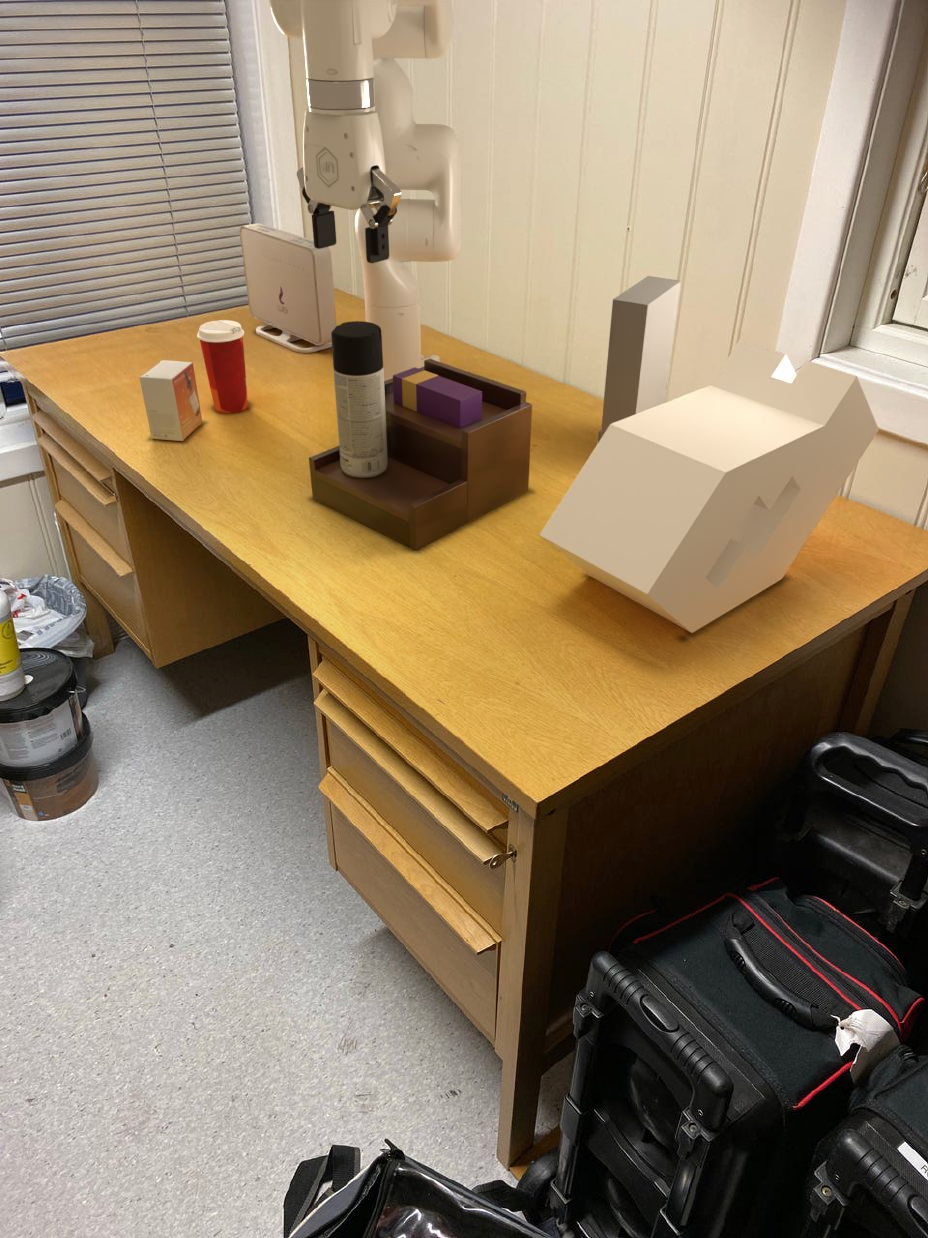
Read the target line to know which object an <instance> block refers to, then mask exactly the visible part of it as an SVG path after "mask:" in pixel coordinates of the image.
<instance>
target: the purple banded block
mask: <svg viewBox="0 0 928 1238" xmlns="http://www.w3.org/2000/svg"><path fill="white" fill-rule="evenodd" d="M393 396H394V402H395V403H397V404H400V405H402V406H404V407H406V408H409V409H411V410H414V411H416V412H420V413H422V414H425V415H428V416H430V417H433V418H435V419H438V420H440V421H443V422H445V423H448V424H450V425H453V426H455V427H458V428H462V427H464V426H467V425H469V424H471V423H473V422H476V421H478V420H480V419H482V391H480V390H477V389H474V388H471V387H468V386H466V385H463V384H460V383H457V382H454V381H452V380H449V379H446V378H443V377H441V376H438V375H436V374H433V373H431V372H428V371H425V370H421V369H418V368H415V367H414V368H412V369H409V370H406V371H403V372H401V373H398V374H395V375H393Z"/></svg>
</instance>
